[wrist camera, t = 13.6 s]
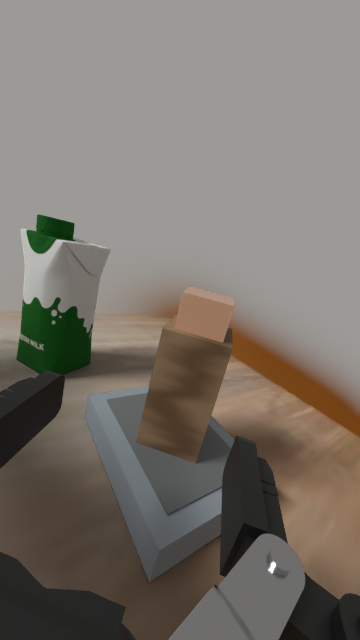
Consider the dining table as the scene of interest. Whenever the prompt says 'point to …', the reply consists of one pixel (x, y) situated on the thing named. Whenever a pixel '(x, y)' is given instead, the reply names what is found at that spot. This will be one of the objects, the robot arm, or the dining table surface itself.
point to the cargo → (204, 313)
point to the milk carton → (58, 297)
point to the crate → (183, 391)
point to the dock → (158, 481)
